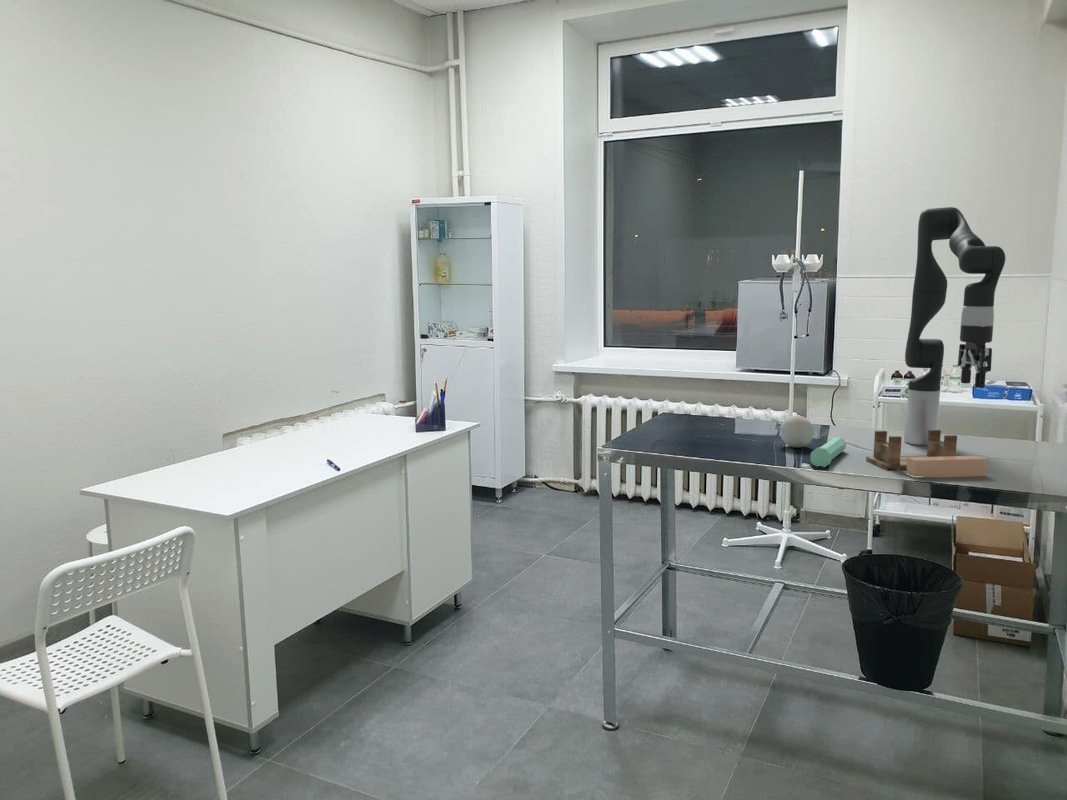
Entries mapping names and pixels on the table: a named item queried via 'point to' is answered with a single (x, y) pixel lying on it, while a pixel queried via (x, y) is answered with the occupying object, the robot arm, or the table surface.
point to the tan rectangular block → (947, 466)
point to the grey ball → (796, 431)
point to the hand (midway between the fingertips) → (972, 385)
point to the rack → (891, 459)
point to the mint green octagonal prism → (827, 452)
